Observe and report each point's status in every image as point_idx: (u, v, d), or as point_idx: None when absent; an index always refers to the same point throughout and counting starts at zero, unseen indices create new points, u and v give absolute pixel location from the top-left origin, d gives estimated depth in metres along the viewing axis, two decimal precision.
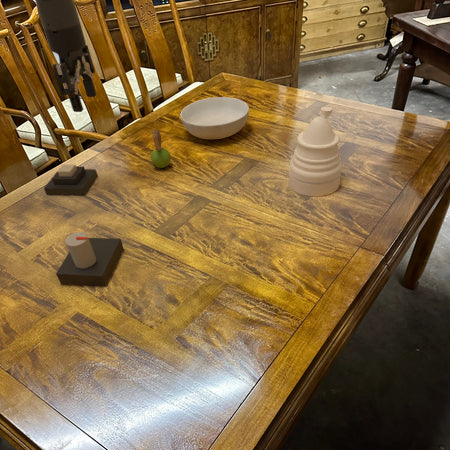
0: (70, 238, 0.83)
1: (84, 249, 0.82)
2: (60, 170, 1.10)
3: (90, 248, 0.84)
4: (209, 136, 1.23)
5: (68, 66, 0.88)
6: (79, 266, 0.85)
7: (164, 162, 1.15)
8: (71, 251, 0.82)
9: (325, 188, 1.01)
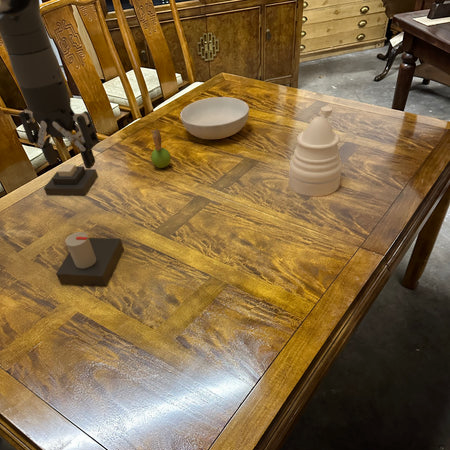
0: (70, 238, 0.83)
1: (84, 249, 0.82)
2: (60, 170, 1.10)
3: (90, 248, 0.84)
4: (209, 136, 1.23)
5: None
6: (79, 266, 0.85)
7: (164, 162, 1.15)
8: (71, 251, 0.82)
9: (325, 188, 1.01)
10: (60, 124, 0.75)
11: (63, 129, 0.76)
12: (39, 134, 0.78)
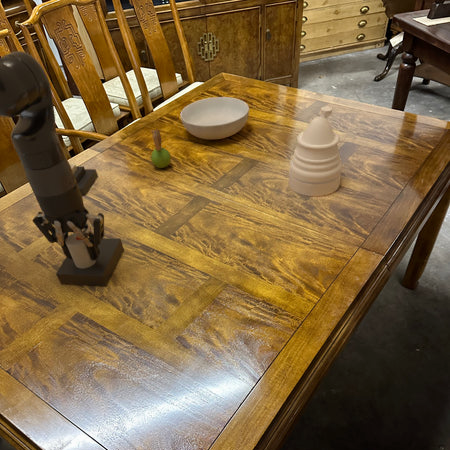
0: (70, 238, 0.83)
1: (84, 249, 0.82)
2: None
3: None
4: (209, 136, 1.23)
5: None
6: (79, 266, 0.85)
7: (164, 162, 1.15)
8: (71, 251, 0.82)
9: (325, 188, 1.01)
10: (74, 222, 0.78)
11: (76, 228, 0.78)
12: (56, 234, 0.80)
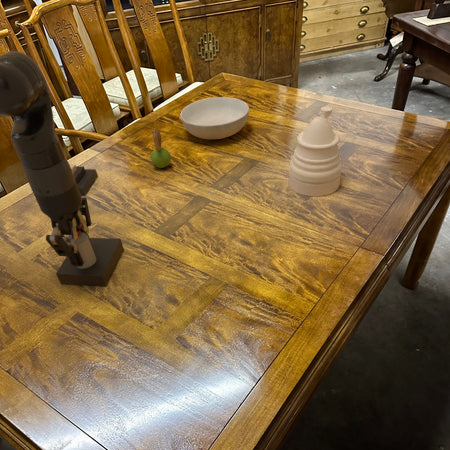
0: None
1: None
2: None
3: None
4: (209, 136, 1.23)
5: None
6: (94, 260, 0.86)
7: (164, 162, 1.15)
8: (87, 247, 0.83)
9: (325, 188, 1.01)
10: None
11: (81, 216, 0.81)
12: (75, 237, 0.79)
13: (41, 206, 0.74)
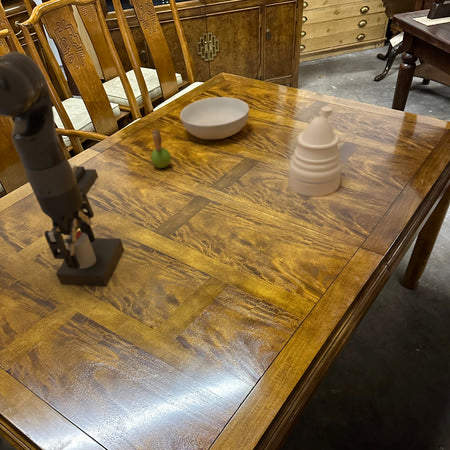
0: None
1: None
2: None
3: None
4: (209, 136, 1.23)
5: None
6: (94, 260, 0.86)
7: (164, 162, 1.15)
8: (87, 247, 0.83)
9: (325, 188, 1.01)
10: None
11: (82, 214, 0.81)
12: (73, 238, 0.78)
13: (42, 206, 0.74)
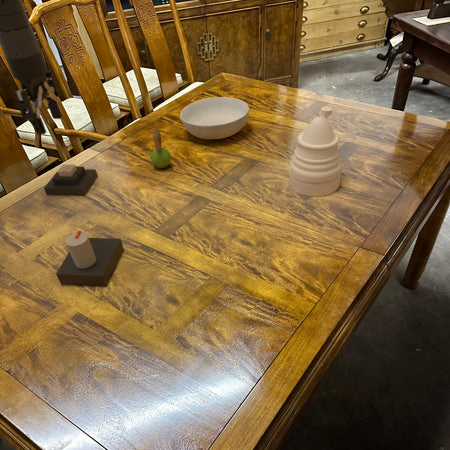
0: (74, 242, 0.82)
1: None
2: (60, 170, 1.10)
3: None
4: (209, 136, 1.23)
5: None
6: (94, 260, 0.86)
7: (164, 162, 1.15)
8: (87, 247, 0.83)
9: (325, 188, 1.01)
10: None
11: (48, 86, 0.97)
12: (39, 102, 0.94)
13: (12, 70, 0.90)
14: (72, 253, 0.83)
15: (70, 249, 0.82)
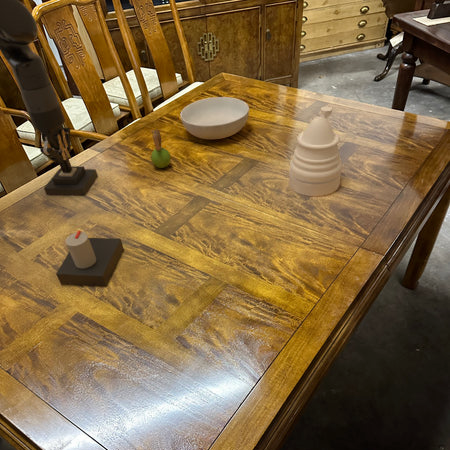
0: (74, 242, 0.82)
1: None
2: (61, 173, 1.11)
3: None
4: (209, 136, 1.23)
5: None
6: (94, 260, 0.86)
7: (164, 162, 1.15)
8: (87, 247, 0.83)
9: (325, 188, 1.01)
10: None
11: (64, 137, 1.06)
12: (62, 149, 1.05)
13: (34, 122, 0.99)
14: (72, 253, 0.83)
15: (70, 249, 0.82)
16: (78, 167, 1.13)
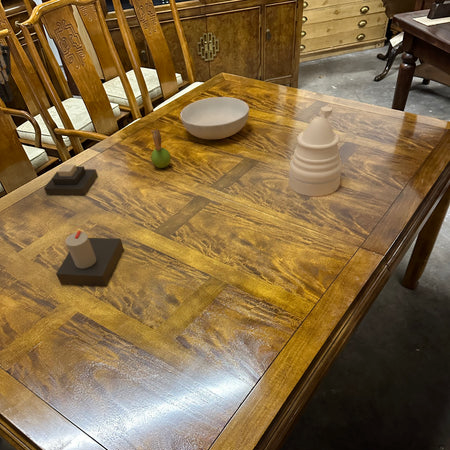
0: (74, 242, 0.82)
1: None
2: (60, 170, 1.10)
3: None
4: (209, 136, 1.23)
5: None
6: (94, 260, 0.86)
7: (164, 162, 1.15)
8: (87, 247, 0.83)
9: (325, 188, 1.01)
10: None
11: (1, 55, 0.88)
12: None
13: None
14: (72, 253, 0.83)
15: (70, 249, 0.82)
16: (78, 167, 1.13)
